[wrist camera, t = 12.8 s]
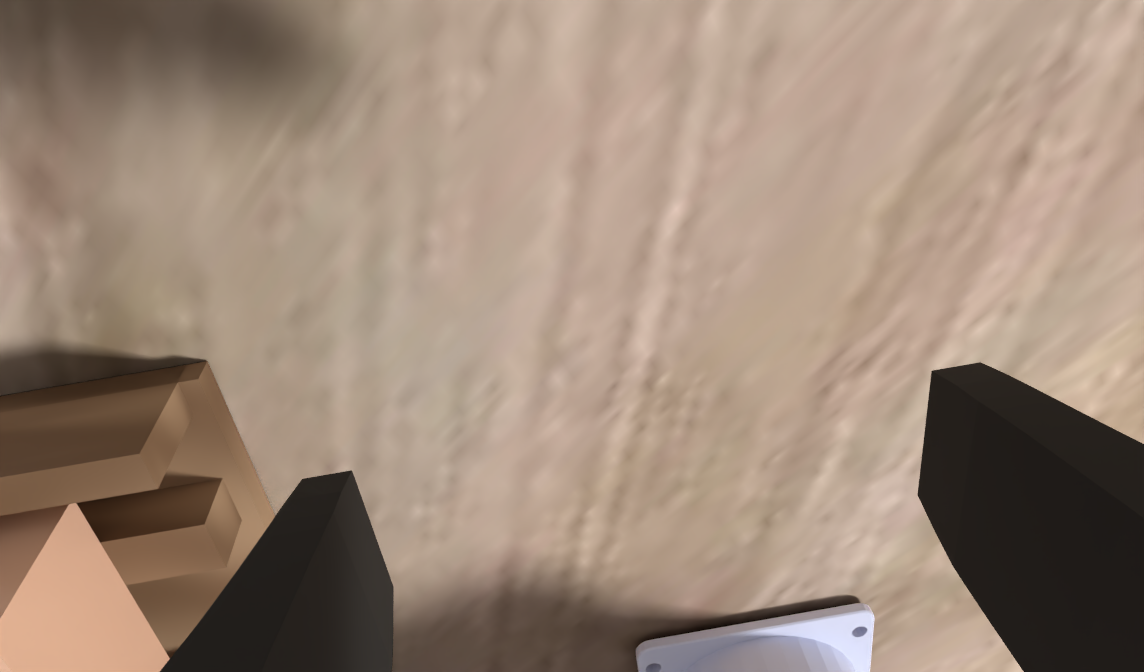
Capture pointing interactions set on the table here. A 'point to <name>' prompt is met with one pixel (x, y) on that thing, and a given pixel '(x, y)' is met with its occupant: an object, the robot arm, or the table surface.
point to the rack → (142, 482)
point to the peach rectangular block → (67, 600)
